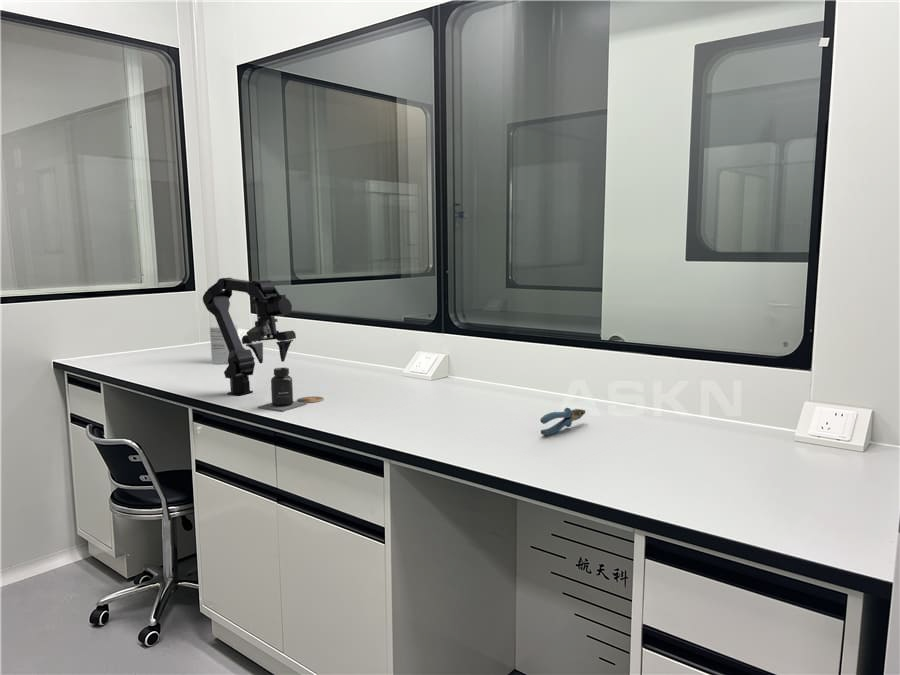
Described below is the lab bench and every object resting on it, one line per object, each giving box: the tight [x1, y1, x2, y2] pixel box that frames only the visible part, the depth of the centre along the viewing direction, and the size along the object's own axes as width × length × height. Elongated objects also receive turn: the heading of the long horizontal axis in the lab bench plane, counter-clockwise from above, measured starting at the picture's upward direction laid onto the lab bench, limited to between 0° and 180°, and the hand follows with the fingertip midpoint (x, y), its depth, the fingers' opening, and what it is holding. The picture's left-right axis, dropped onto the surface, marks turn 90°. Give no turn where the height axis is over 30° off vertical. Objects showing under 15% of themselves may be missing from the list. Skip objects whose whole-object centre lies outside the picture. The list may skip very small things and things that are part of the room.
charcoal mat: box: [257, 400, 308, 413], centre depth 220 cm, size 11×11×1 cm
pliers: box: [540, 407, 586, 436], centre depth 187 cm, size 20×2×6 cm, turn 135°
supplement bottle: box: [270, 367, 294, 407], centre depth 219 cm, size 7×7×12 cm
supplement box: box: [209, 324, 239, 365], centre depth 305 cm, size 10×9×17 cm
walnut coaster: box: [296, 395, 325, 404], centre depth 228 cm, size 9×9×1 cm
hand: (271, 362), depth 229 cm, fingers open, 9 cm apart
